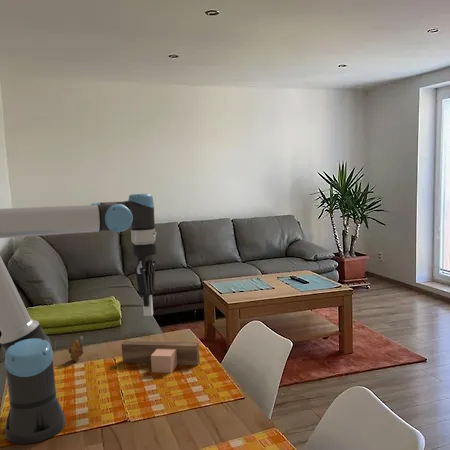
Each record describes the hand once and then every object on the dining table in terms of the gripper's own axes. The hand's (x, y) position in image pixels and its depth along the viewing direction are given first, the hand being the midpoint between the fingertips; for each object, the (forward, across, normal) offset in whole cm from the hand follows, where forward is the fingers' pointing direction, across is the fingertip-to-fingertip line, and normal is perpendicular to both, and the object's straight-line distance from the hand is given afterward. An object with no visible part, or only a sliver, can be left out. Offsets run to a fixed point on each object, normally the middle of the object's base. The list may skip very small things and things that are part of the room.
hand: (148, 315), depth 152 cm
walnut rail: (+22, +16, +2) cm, 28 cm away
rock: (+23, +16, +35) cm, 45 cm away
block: (+23, +11, -1) cm, 25 cm away
